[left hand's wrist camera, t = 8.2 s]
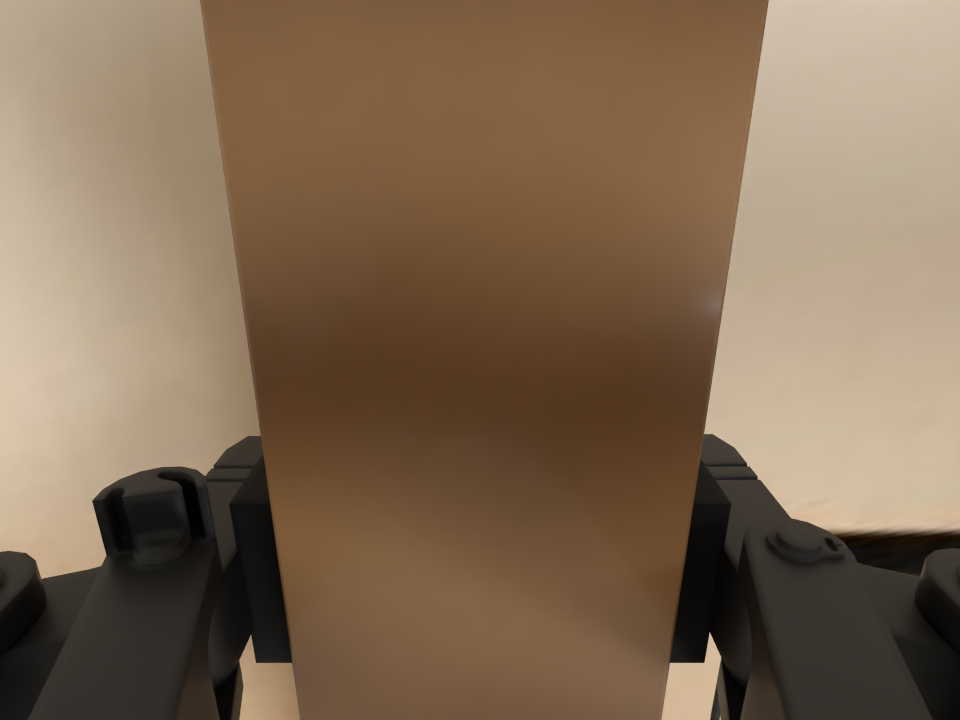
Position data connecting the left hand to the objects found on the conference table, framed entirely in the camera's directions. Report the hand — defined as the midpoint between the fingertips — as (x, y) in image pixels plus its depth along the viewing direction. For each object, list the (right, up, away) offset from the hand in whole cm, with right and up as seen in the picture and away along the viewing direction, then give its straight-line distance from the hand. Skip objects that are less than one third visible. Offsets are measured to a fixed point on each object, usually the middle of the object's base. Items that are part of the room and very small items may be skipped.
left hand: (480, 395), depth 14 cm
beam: (0, -28, +11) cm, 31 cm away
